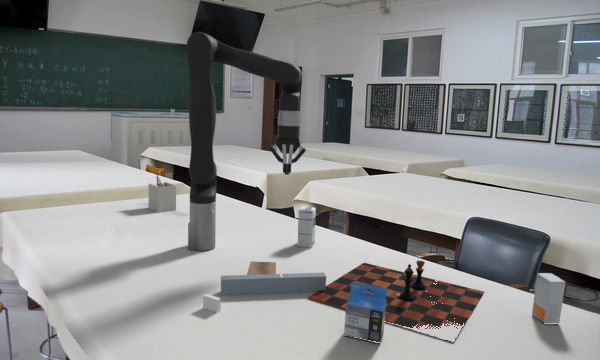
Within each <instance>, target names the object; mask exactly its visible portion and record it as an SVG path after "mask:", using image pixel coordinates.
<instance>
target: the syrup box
mask: <svg viewBox="0 0 600 360" xmlns="http://www.w3.org/2000/svg"><path fill="white" fill-rule="evenodd" d="M316 210H317V209H316V207H314V206H301V207H300V208H299V209H298V213H297V214H298V217H297V220H298V221H297V246H298V247H303V248H311V249H312V247H314V245H315V242H316V241H315V240H316V238H315V237H316V212H317V211H316Z"/></svg>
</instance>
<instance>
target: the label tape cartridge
mask: <svg viewBox="0 0 600 360" xmlns="http://www.w3.org/2000/svg"><path fill="white" fill-rule="evenodd" d="M363 289H365V290H367V289H370V290H371V291H374V292H375V293H368V292H364V291H363ZM386 294H387V289H386V288H380V287H375V286H370V285H365V284H359V283H354V282H351V292H350V294H349V297H348V300H347V303H346V310H345V314H344V315H345V316H344V329H343V332H344V335H346V336H351V337H357V338H362V339H366V340H371V341H376V342H381V343H382V341H383V339H384V331H385V322H384V320H385V309H386ZM346 336H345V337H346ZM382 338H383V339H382ZM381 340H382V341H381Z"/></svg>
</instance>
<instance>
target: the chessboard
mask: <svg viewBox="0 0 600 360" xmlns="http://www.w3.org/2000/svg"><path fill="white" fill-rule="evenodd" d="M415 264H416V265H417V267H415V271H416V273H417V274H414V270H413V269H412V264H410V263H409V264H408V265H407V267H406V269H405V270H404V271H401V270H397V269H393V268H389V267H383V266H380V265H376V264H371V263H368V262H363V263H361V264H359V265H358V266H356V267H355V268H353V269H351V270H350V271H348V272H347V273H345V274H343V275H342V276H339V277H338V278H337V279H335V280H334V281H332V282H330V283H329V284H326V290H319V291H317V292H313V293H312V294H311V295H309V296H308V298H307V299H308V300H311V301H314V302H317V303H320V304H323V305H327V306H329V307H333V308H336V307H337V308H336V309H339V308H340V309H341V310H343V311H346V303H347V300H348V297H349V294H350V292H351V282H354V283H359V284H365V285H370V286H375V287H380V288H386V289H387V294H386V309H385V320H384V321H386V322H390V323H394V324H398V325H401V326H406V327H410V328H413V327H414V326H416V325H417V324H418V325H417V326H416V328H418V327H419V326H421V327H422V326H423V325H425V326H426V325H428V324H429V326H428V327H430V326H431V327H433V326H434V327H436V326H438V327H440V326H442V324H443V323H444V326H446V325H445V324H447V323H448V324H451V323H452V324H451V325H453V324H454V323H455V324H454V325H457V324H456V323H458V325H457V326H459V324H460V326H462V325H463V323H464V324H465V323H466V324H467V322H468V321H467V320H469V319H470V317H471V316H472V314H473V312H474V311H475V310H476V308H477V306H478V304H479V303H478V302H480V301H481V299H482V298H483V296H484V294H485V291H483V290H479V289H475V288H471V287H467V286H463V285H459V284H455V283H450V282H446V281H442V280H438V279H434V278H430V277H427V276H422V274H423V272H424V271H425V269H424V268H423V267H424V266H425V261H424V260H421V259H418V260H416V263H415ZM435 280H436V281H437V280H438V281H437V282H436V281H435ZM433 283H435V284H436V283H437V284H436V285H435V284H433ZM363 291H364V292H368V293H375V292H374V291H371V290H370V289H367V290H365V289H363ZM426 291H427V292H426ZM430 296H431V297H430ZM431 302H432V303H431ZM434 302H435V303H434ZM436 303H437V304H436ZM442 303H443V304H442ZM433 304H434V305H433ZM473 310H474V311H473ZM470 315H471V316H470ZM454 318H455V319H454ZM468 318H469V319H468ZM447 320H448V321H447ZM454 321H455V322H454ZM466 321H467V322H466ZM450 322H451V323H450ZM431 324H432V325H431ZM448 324H447V326H450V325H448ZM466 324H465V325H466ZM412 326H413V327H412ZM447 326H446V327H447ZM428 327H427V328H428ZM431 327H430V328H431ZM434 327H433V328H434ZM438 327H436V328H438ZM454 327H455V326H454ZM419 328H420V327H419ZM419 328H418V329H419ZM427 328H425V329H427ZM430 328H429V329H430ZM433 328H432V329H433ZM436 328H435V329H436ZM440 328H441V327H440ZM456 328H457V327H456ZM438 329H439V328H438ZM457 329H458V328H457ZM461 329H462V328H461ZM462 330H463V329H462Z"/></svg>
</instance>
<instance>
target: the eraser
mask: <svg viewBox="0 0 600 360" xmlns="http://www.w3.org/2000/svg"><path fill="white" fill-rule="evenodd" d="M202 297H203V298H202V302H203V303H202V308H203V309H204V308H206V309H205V310H207V309H209V310H208V311H210V310H212V311H211V312H213V311H215V312H214V313H216V312H218V313H220V312H221V306H222V301H221V300H222V299H221V297H219V296H215V295H212V294H209V293H205V294H203V296H202ZM219 311H220V312H219Z"/></svg>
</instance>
